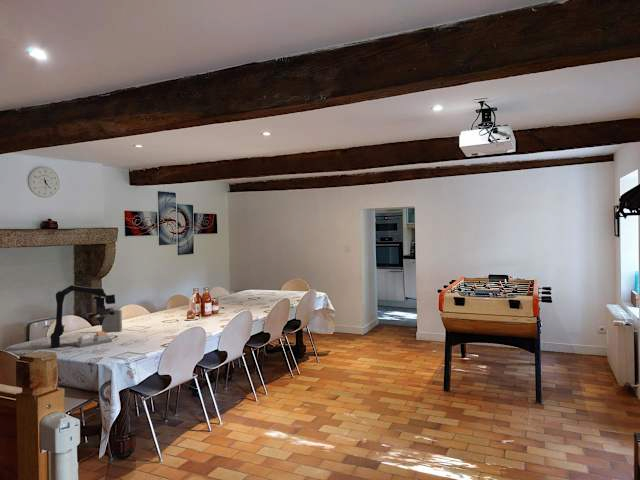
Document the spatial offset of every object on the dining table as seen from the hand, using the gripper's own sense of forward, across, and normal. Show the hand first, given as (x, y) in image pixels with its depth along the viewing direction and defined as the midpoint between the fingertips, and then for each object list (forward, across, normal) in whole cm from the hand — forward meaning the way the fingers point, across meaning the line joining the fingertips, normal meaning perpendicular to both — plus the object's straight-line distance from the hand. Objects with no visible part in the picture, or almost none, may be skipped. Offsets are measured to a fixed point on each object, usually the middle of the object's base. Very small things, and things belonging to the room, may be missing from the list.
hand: (100, 325), depth 332 cm
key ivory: (+9, -11, 0) cm, 14 cm away
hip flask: (+12, +20, +30) cm, 38 cm away
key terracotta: (+8, 0, 0) cm, 8 cm away
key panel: (+12, -6, 0) cm, 13 cm away
